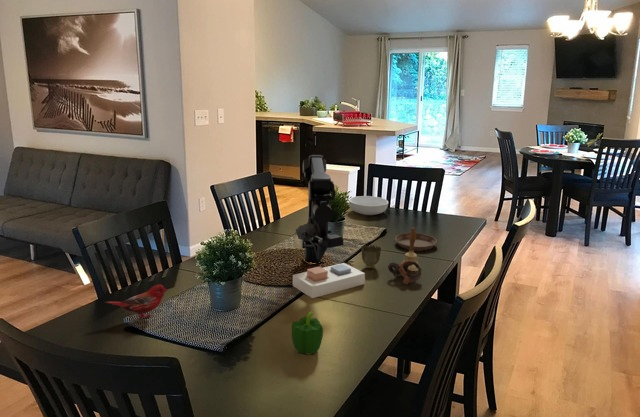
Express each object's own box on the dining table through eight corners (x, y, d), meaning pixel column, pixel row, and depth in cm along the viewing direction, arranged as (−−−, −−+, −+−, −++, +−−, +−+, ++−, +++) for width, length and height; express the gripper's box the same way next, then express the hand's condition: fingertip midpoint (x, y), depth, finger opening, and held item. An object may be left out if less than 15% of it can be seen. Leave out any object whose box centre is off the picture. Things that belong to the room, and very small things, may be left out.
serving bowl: (346, 217, 263) (346, 204, 261) (350, 207, 283) (351, 195, 281) (386, 219, 259) (387, 206, 258) (388, 209, 279) (389, 197, 278)
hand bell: (423, 266, 196) (426, 226, 192) (417, 273, 189) (420, 232, 185) (402, 262, 200) (405, 223, 196) (396, 269, 192) (398, 228, 188)
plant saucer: (425, 255, 208) (425, 248, 208) (387, 246, 219) (387, 239, 218) (443, 245, 222) (443, 238, 221) (406, 236, 232) (407, 230, 232)
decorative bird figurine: (169, 316, 151) (167, 285, 149) (105, 323, 146) (102, 291, 144) (169, 312, 154) (167, 281, 151) (106, 319, 149) (103, 287, 146)
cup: (379, 272, 189) (380, 251, 187) (359, 270, 191) (360, 250, 189) (380, 265, 196) (381, 245, 194) (361, 263, 198) (362, 243, 196)
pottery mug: (418, 276, 188) (425, 262, 182) (414, 295, 181) (421, 281, 175) (387, 265, 189) (392, 251, 183) (382, 284, 182) (387, 270, 176)
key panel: (292, 285, 175) (292, 274, 174) (343, 273, 188) (343, 262, 187) (312, 298, 166) (312, 286, 165) (364, 284, 178) (364, 273, 177)
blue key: (330, 274, 179) (330, 266, 179) (341, 272, 182) (342, 264, 181) (339, 279, 176) (339, 271, 175) (350, 276, 178) (350, 268, 178)
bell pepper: (308, 362, 129) (308, 326, 126) (285, 350, 134) (285, 315, 132) (329, 349, 135) (330, 315, 133) (307, 338, 140) (307, 305, 138)
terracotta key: (306, 277, 174) (307, 269, 173) (319, 274, 176) (319, 266, 176) (315, 282, 170) (315, 274, 169) (327, 279, 172) (327, 271, 172)
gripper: (284, 212, 170) (284, 256, 174) (316, 225, 156) (315, 273, 160) (311, 207, 177) (311, 250, 181) (345, 220, 162) (343, 266, 166)
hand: (319, 259), depth 172 cm, fingers closed
